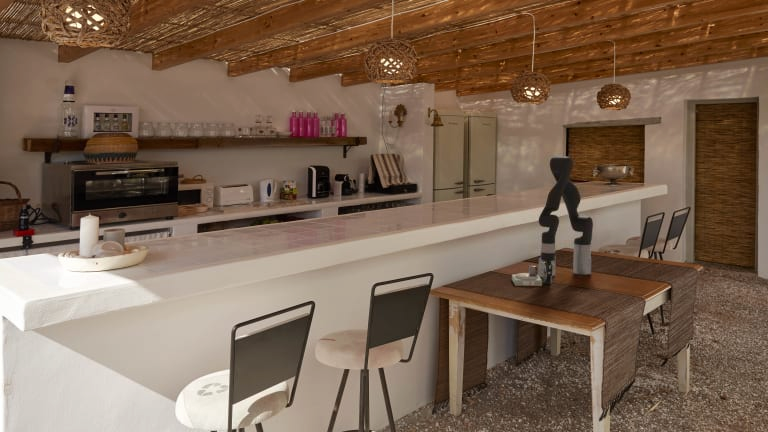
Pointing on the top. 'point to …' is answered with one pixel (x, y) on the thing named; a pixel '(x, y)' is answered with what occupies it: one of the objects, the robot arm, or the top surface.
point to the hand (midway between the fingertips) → (547, 281)
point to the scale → (526, 280)
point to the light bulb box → (542, 267)
